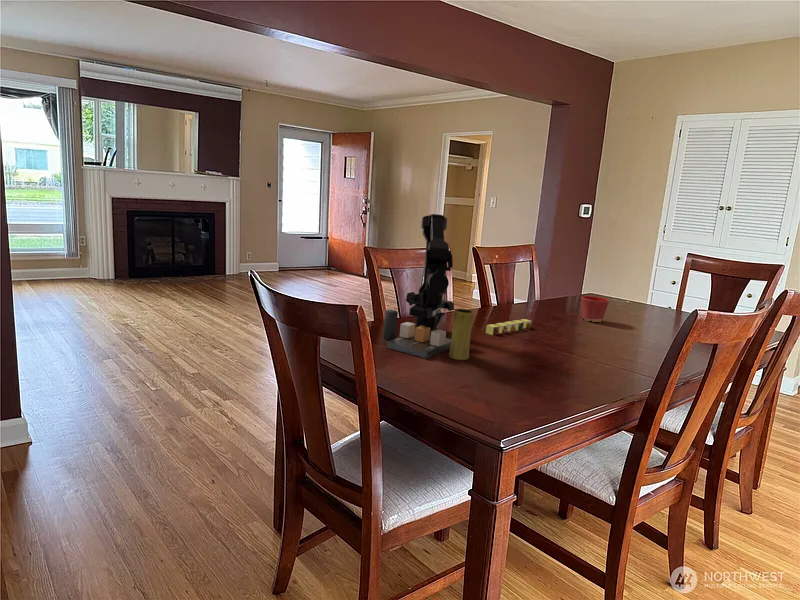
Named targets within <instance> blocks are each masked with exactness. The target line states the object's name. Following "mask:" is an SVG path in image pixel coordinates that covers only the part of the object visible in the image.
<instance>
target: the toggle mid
mask: <svg viewBox="0 0 800 600" xmlns="http://www.w3.org/2000/svg"><path fill="white" fill-rule="evenodd" d="M429 338H430V327H426V326H419V327H416V328H415V340H416V341H419V342H425V341H428V340H429Z"/></svg>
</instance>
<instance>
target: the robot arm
mask: <svg viewBox="0 0 800 600" xmlns="http://www.w3.org/2000/svg"><path fill="white" fill-rule="evenodd" d="M420 227H421V229H422V236H423V237H424V239H425V242H426V243H425V253H424V254H425V256H424V257H425V258H424V269H423V279H422V282H423V283H422V284H421V285H420V287H419V288H418V290H417V293H415V291H411V292H407V293H406V297H405V301H406V303H407V304H409V305H408V306H411V307H409V316H413V317H416V323H415V329H416V327H419V326H426V327H430V335H431V331H434V330H437V327H438V326H439V324H440V322H441V320H442V319H443V317H444V316H445V315H446V313H444V312H442V310H441V309H446V310H447V311H448V312H451V311H454V308H455V304H454V302H453V301H451V300H447V299H443V298H444V295H445V294H447V289H448V287H449V284H450V281H449V279H448V277H447V276H446V271H448V272H451V270H452V269H453V253H452V250H450V246H449V243H448V242H446V241H445V231H446V230H447V227H448V218H447V217H445V215H443V214H438V213H430V214H429V215H424V216H423V217H421V226H420Z"/></svg>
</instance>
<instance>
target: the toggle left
mask: <svg viewBox="0 0 800 600" xmlns="http://www.w3.org/2000/svg"><path fill="white" fill-rule="evenodd" d="M415 325H416V323H414V322H409V321H406V322H403V323H400V328H399V337H404V338H410V337H413V336H414V333H415V330H416V328H415Z"/></svg>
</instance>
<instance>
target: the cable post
mask: <svg viewBox="0 0 800 600" xmlns="http://www.w3.org/2000/svg"><path fill="white" fill-rule="evenodd" d="M384 312H385V313H384V322H383V336H382V338H383V340H387V341H389V340H392V339H395V338H397V337H396V336H397V326H398V325H397V324H398V314H399V311H398V310H396V309H386V310H385V311H384Z"/></svg>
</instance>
